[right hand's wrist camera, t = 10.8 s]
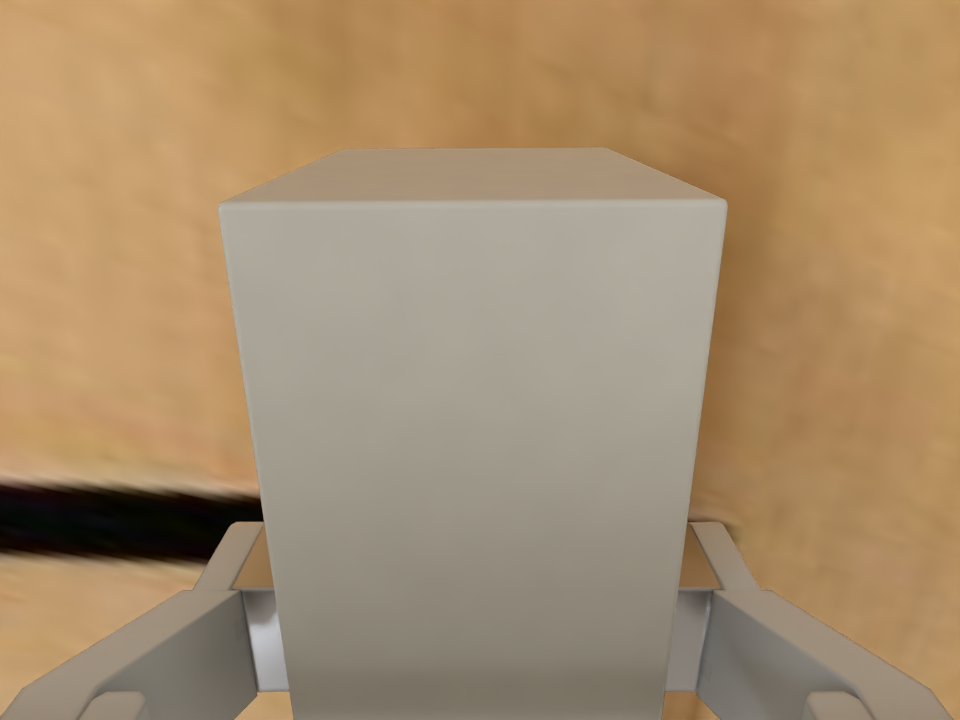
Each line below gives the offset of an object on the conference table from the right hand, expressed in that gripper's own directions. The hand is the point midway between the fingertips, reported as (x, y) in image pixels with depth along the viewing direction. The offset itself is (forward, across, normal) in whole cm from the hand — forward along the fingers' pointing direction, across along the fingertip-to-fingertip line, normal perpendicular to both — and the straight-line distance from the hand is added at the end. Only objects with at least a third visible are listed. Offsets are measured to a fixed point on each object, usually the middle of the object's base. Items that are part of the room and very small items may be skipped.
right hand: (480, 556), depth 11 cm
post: (+3, 0, -21) cm, 21 cm away
